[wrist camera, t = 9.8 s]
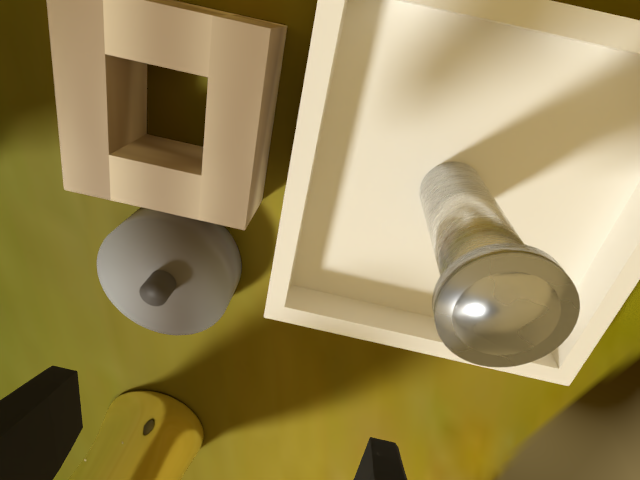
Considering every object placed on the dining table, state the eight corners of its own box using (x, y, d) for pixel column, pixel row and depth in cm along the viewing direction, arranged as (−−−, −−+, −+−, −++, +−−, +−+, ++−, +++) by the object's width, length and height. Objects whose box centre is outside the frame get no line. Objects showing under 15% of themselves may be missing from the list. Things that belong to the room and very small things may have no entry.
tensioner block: (111, 292, 22) (77, 330, 20) (99, -17, 16) (44, -23, 13) (244, 322, 22) (227, 364, 20) (287, 25, 16) (270, 28, 13)
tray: (274, 285, 21) (263, 317, 19) (333, -41, 15) (326, -51, 12) (548, 347, 21) (568, 386, 19) (726, 47, 15) (788, 54, 12)
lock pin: (399, 218, 18) (417, 351, 11) (423, 143, 16) (461, 241, 9) (475, 234, 18) (542, 379, 11) (505, 161, 16) (607, 273, 9)
